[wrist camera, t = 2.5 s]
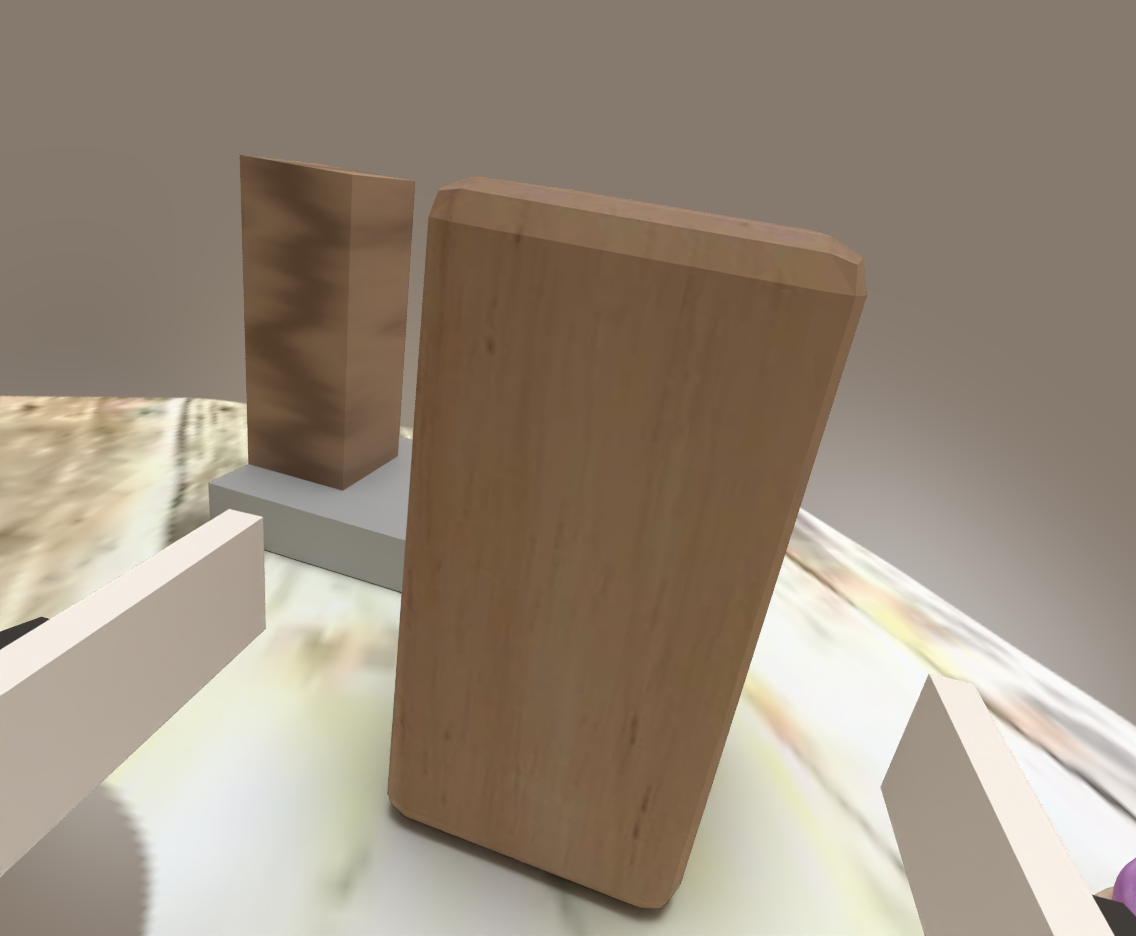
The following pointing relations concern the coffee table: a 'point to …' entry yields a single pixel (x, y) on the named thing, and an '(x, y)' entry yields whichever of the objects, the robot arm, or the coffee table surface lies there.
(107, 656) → the robot arm
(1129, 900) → the stacking toy
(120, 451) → the coffee table surface
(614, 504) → the block
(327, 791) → the coffee table surface
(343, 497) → the foundation
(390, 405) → the walnut pillar
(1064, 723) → the coffee table surface
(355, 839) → the coffee table surface
